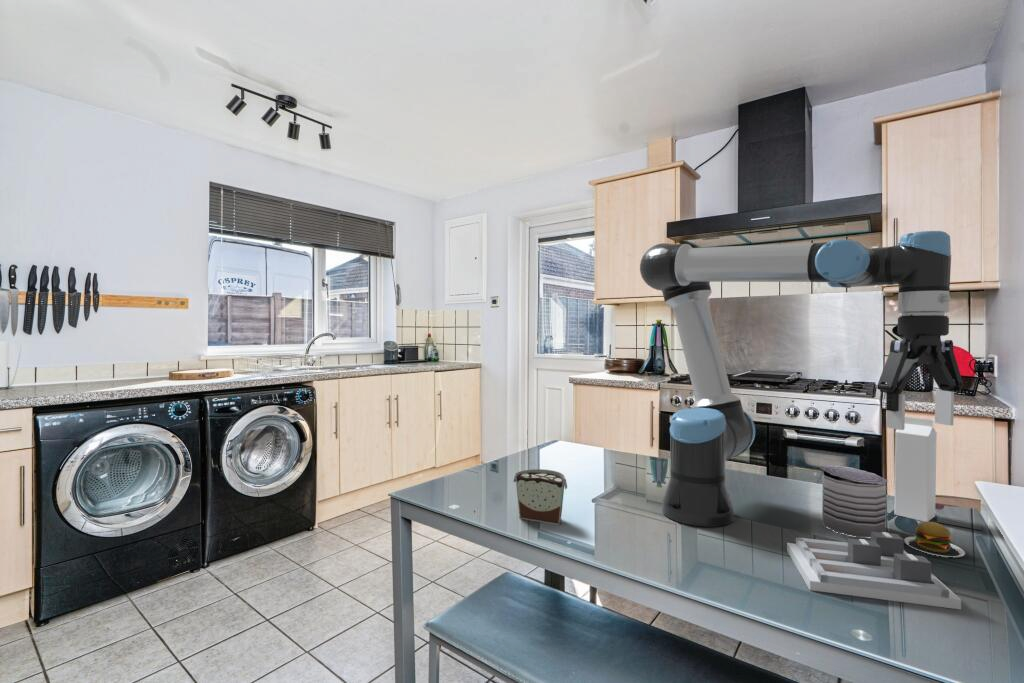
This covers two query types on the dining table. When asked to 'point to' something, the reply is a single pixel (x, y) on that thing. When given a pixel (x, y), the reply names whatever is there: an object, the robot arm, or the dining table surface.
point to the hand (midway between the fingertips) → (920, 426)
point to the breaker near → (912, 568)
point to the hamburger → (934, 539)
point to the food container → (540, 495)
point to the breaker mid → (864, 552)
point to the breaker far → (888, 543)
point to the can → (853, 501)
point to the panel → (862, 576)
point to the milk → (915, 470)
